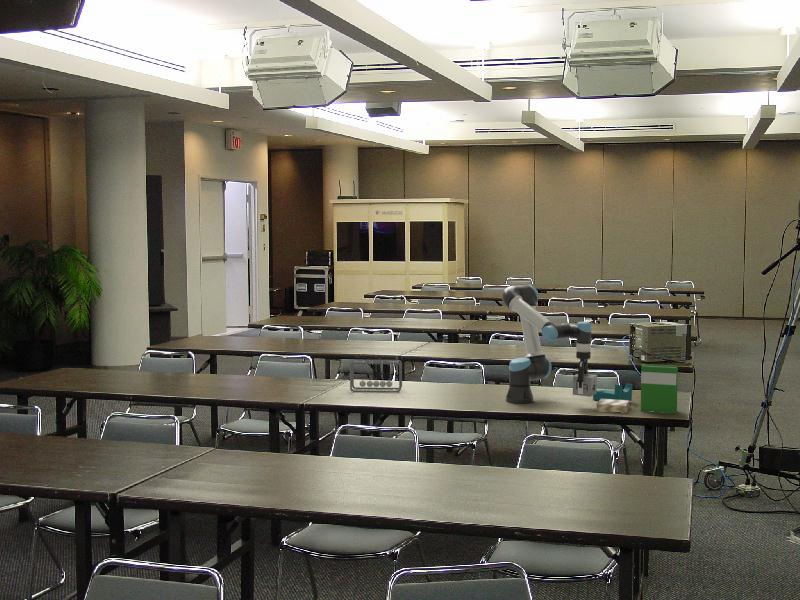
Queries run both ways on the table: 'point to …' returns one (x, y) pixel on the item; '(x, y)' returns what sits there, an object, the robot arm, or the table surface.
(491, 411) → the table surface
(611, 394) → the teal tape dispenser
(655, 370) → the green cereal box
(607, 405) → the plinth
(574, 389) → the icon cube
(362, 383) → the newton's cradle
